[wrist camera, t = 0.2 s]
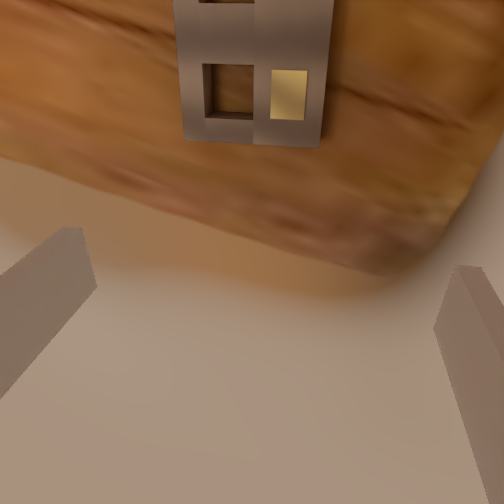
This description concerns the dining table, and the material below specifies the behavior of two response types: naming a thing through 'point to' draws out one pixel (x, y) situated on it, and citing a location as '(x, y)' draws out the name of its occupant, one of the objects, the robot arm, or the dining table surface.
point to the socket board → (255, 68)
